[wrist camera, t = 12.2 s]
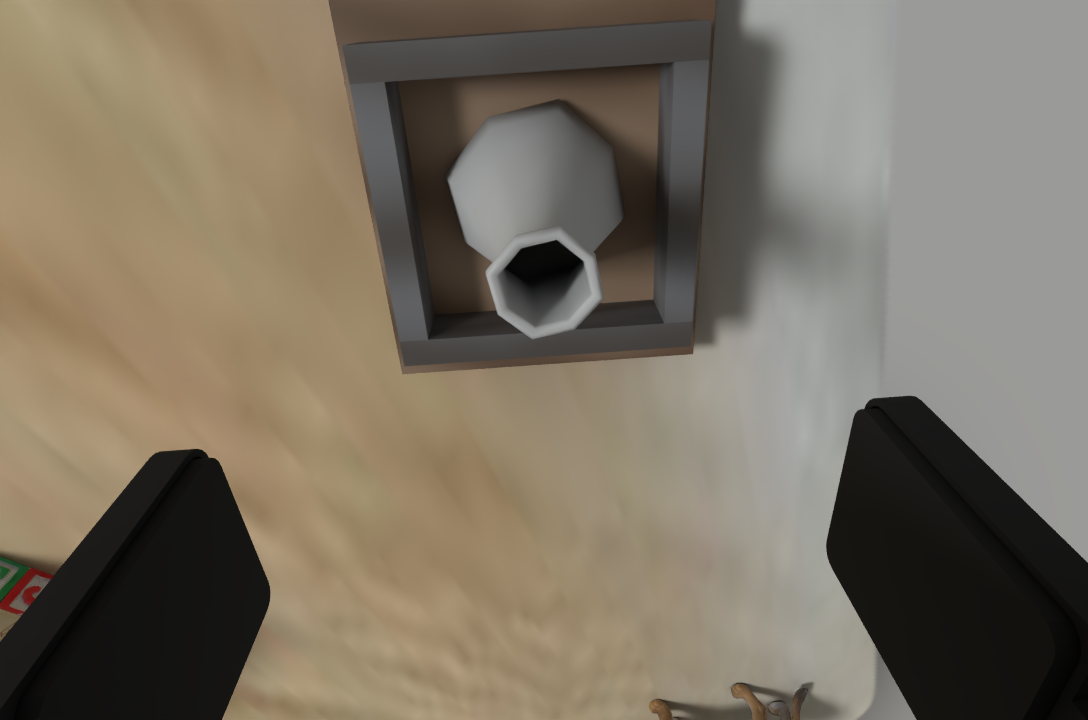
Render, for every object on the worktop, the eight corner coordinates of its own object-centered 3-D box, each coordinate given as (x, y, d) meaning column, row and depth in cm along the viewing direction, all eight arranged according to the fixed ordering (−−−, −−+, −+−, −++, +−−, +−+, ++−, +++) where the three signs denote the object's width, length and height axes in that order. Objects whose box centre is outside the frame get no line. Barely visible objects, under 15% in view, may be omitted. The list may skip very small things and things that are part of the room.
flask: (566, 62, 24) (595, 92, 15) (652, 220, 27) (718, 322, 18) (413, 166, 25) (358, 248, 17) (511, 304, 28) (508, 434, 20)
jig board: (336, -12, 23) (304, -16, 20) (707, -37, 24) (740, -46, 20) (407, 358, 31) (393, 402, 28) (685, 339, 31) (706, 380, 28)
